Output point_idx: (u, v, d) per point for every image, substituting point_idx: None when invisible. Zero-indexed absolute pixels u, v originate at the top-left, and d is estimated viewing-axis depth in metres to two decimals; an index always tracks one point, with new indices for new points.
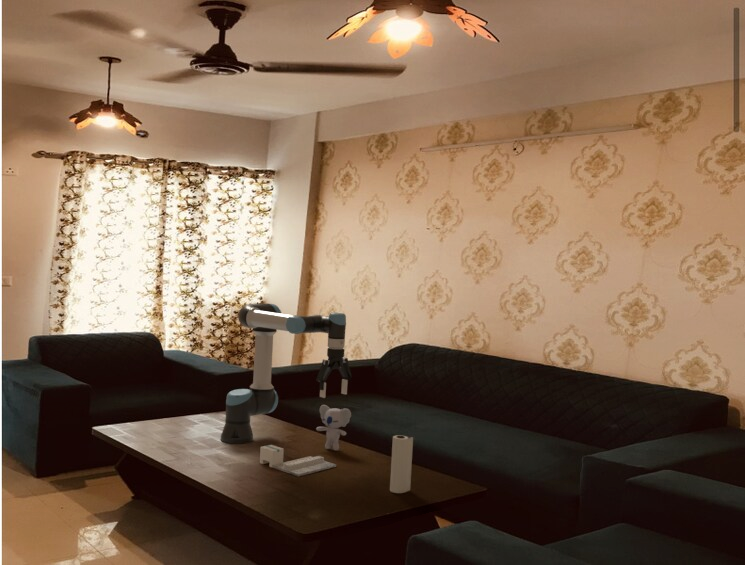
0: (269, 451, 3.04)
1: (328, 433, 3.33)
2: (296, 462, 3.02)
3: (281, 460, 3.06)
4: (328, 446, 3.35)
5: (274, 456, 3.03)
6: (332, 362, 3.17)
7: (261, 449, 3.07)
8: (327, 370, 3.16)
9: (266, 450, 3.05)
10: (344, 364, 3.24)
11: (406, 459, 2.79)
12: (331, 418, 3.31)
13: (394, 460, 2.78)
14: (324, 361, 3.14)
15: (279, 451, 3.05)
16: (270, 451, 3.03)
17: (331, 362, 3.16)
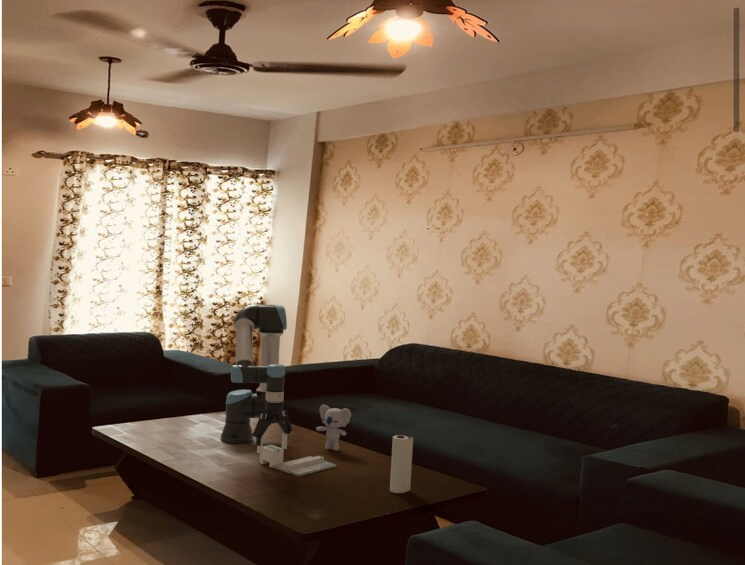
0: (269, 451, 3.04)
1: (328, 433, 3.33)
2: (296, 462, 3.02)
3: (281, 460, 3.06)
4: (328, 446, 3.35)
5: (274, 456, 3.03)
6: (270, 416, 3.04)
7: None
8: (264, 425, 3.03)
9: (266, 450, 3.05)
10: (284, 417, 3.11)
11: (406, 459, 2.79)
12: (331, 418, 3.31)
13: (394, 460, 2.78)
14: (261, 415, 3.01)
15: (279, 451, 3.05)
16: (270, 451, 3.03)
17: (269, 416, 3.03)
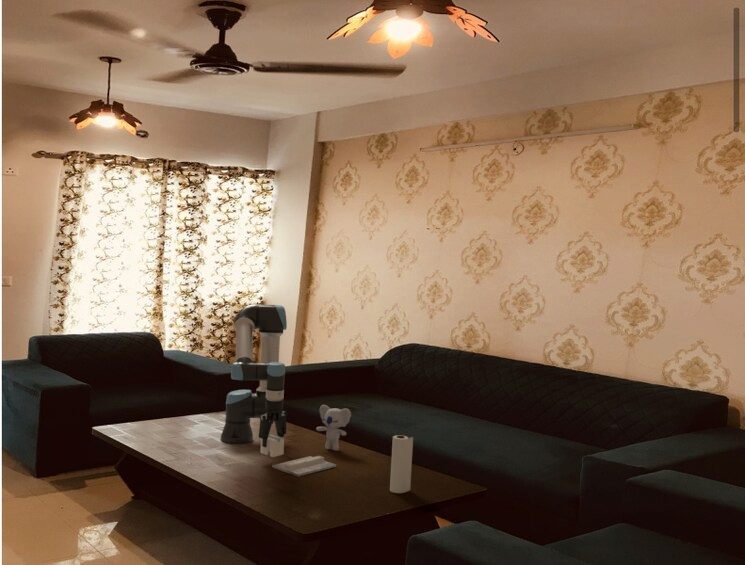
0: (269, 441, 3.04)
1: (328, 433, 3.33)
2: (296, 462, 3.02)
3: (282, 450, 3.07)
4: (328, 446, 3.35)
5: (274, 446, 3.03)
6: (270, 414, 3.04)
7: (261, 439, 3.07)
8: (267, 425, 3.05)
9: None
10: (282, 417, 3.11)
11: (406, 459, 2.79)
12: (331, 418, 3.31)
13: (394, 460, 2.78)
14: (261, 417, 3.02)
15: (279, 441, 3.05)
16: (270, 441, 3.04)
17: (269, 415, 3.04)
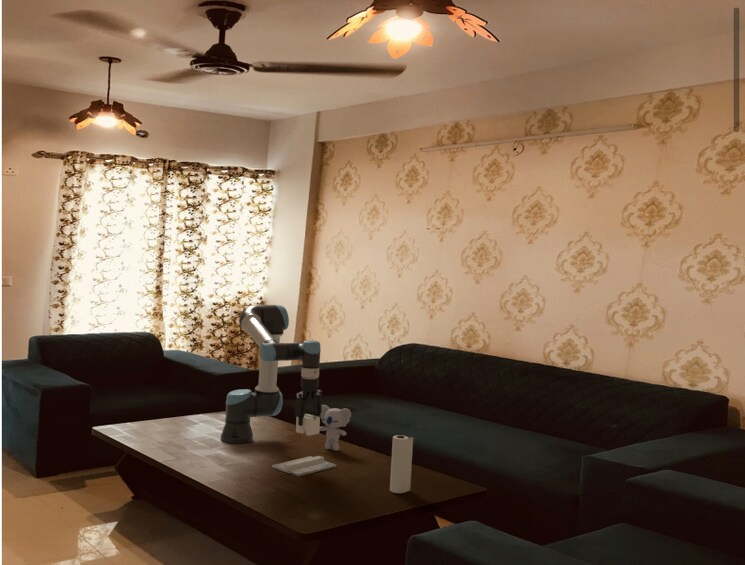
0: (305, 419, 3.02)
1: (328, 433, 3.33)
2: (296, 462, 3.02)
3: (317, 428, 3.04)
4: (328, 446, 3.35)
5: (310, 424, 3.01)
6: (306, 392, 3.02)
7: (297, 418, 3.05)
8: (303, 403, 3.03)
9: None
10: (317, 397, 3.09)
11: (406, 459, 2.79)
12: (331, 418, 3.31)
13: (394, 460, 2.78)
14: (297, 395, 3.00)
15: (315, 419, 3.03)
16: (307, 419, 3.01)
17: (305, 393, 3.02)
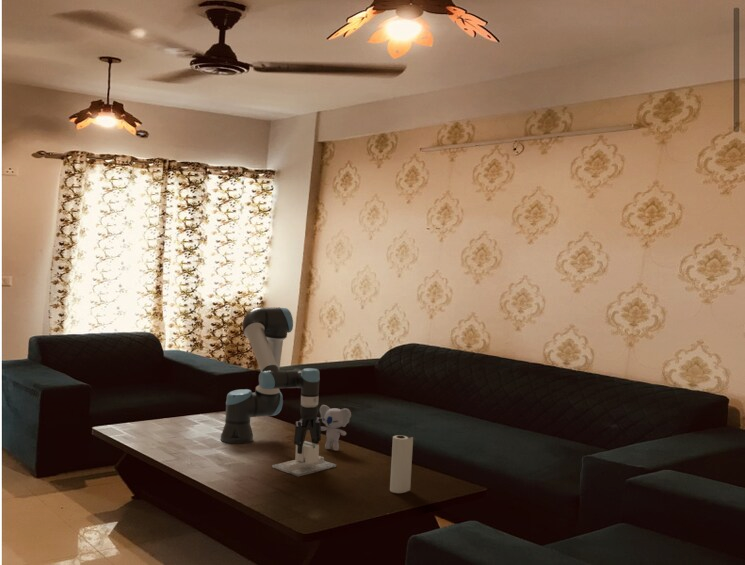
0: (305, 447, 3.02)
1: (328, 433, 3.33)
2: (296, 462, 3.02)
3: (317, 456, 3.05)
4: (328, 446, 3.35)
5: (310, 452, 3.02)
6: (305, 420, 3.03)
7: (296, 446, 3.06)
8: (302, 431, 3.03)
9: None
10: (316, 424, 3.09)
11: (406, 459, 2.79)
12: (331, 418, 3.31)
13: (394, 460, 2.78)
14: (297, 423, 3.01)
15: (315, 447, 3.04)
16: (306, 447, 3.02)
17: (304, 421, 3.02)
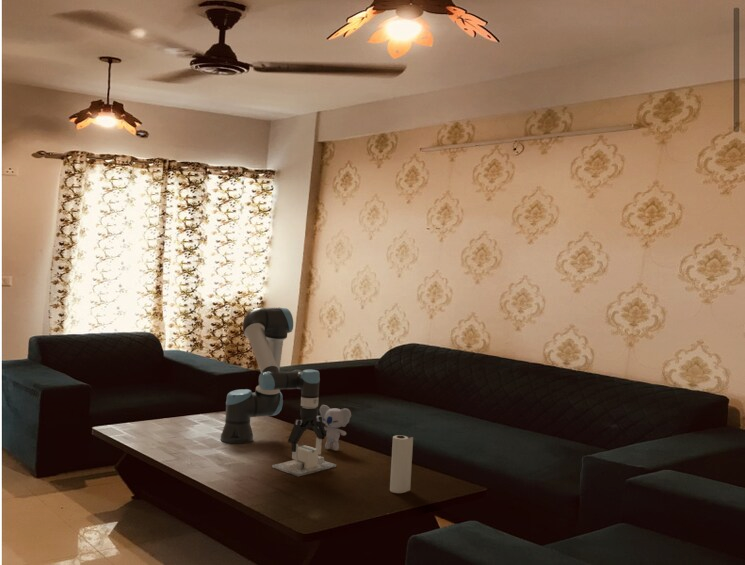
0: (304, 451, 3.02)
1: (328, 433, 3.33)
2: (296, 462, 3.02)
3: (316, 461, 3.05)
4: (328, 446, 3.35)
5: (309, 457, 3.01)
6: (305, 422, 3.03)
7: None
8: (300, 430, 3.02)
9: (301, 450, 3.03)
10: (318, 423, 3.10)
11: (406, 459, 2.79)
12: (331, 418, 3.31)
13: (394, 460, 2.78)
14: (296, 421, 3.00)
15: (314, 451, 3.03)
16: (305, 451, 3.02)
17: (304, 422, 3.02)
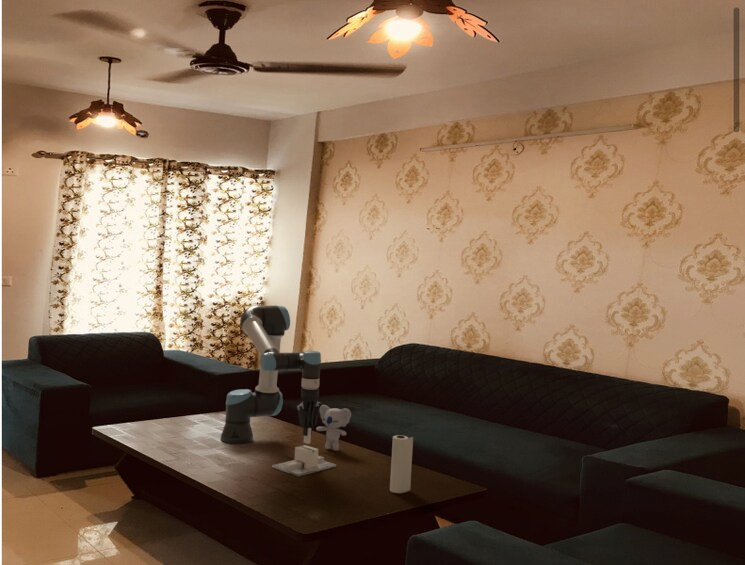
0: (304, 451, 3.02)
1: (328, 433, 3.33)
2: (296, 462, 3.02)
3: (316, 461, 3.05)
4: (328, 446, 3.35)
5: (309, 457, 3.01)
6: (306, 402, 3.03)
7: (296, 449, 3.06)
8: (305, 414, 3.04)
9: (301, 450, 3.03)
10: (315, 408, 3.09)
11: (406, 459, 2.79)
12: (331, 418, 3.31)
13: (394, 460, 2.78)
14: (298, 408, 3.01)
15: (314, 451, 3.03)
16: (305, 451, 3.02)
17: (305, 403, 3.02)
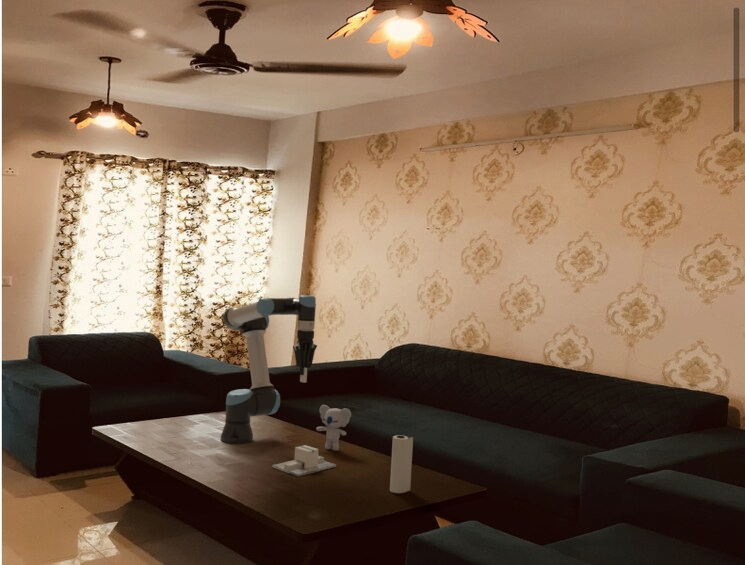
0: (304, 451, 3.02)
1: (328, 433, 3.33)
2: (296, 462, 3.02)
3: (316, 461, 3.05)
4: (328, 446, 3.35)
5: (309, 457, 3.01)
6: (302, 343, 3.22)
7: (296, 449, 3.06)
8: (301, 354, 3.23)
9: (301, 450, 3.03)
10: (311, 349, 3.28)
11: (406, 459, 2.79)
12: (331, 418, 3.31)
13: (394, 460, 2.78)
14: (294, 348, 3.20)
15: (314, 451, 3.03)
16: (305, 451, 3.02)
17: (301, 344, 3.22)
